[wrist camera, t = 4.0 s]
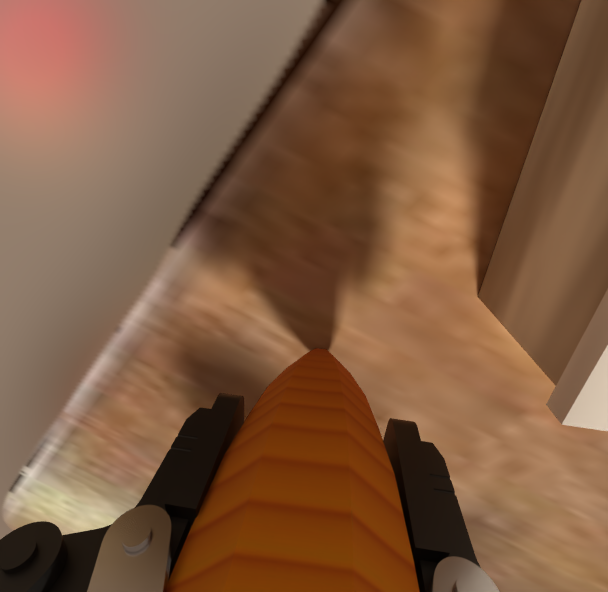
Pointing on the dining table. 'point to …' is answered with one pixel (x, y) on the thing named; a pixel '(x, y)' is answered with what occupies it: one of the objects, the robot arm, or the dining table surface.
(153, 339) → the dining table surface
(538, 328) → the wooden stand
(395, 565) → the carrot
